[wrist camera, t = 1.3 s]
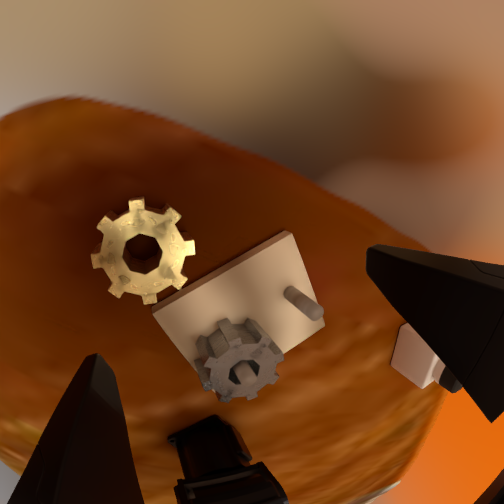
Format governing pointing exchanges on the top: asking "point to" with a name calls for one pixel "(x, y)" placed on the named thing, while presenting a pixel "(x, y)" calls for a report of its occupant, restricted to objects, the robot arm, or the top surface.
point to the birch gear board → (246, 301)
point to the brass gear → (135, 270)
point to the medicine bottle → (420, 361)
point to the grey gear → (236, 358)
